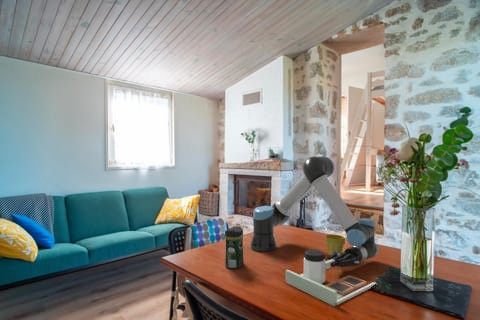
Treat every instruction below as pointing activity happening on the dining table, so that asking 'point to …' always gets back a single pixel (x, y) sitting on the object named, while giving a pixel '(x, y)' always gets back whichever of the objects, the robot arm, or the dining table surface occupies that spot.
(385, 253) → the dining table surface
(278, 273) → the dining table surface
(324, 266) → the jar
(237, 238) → the coffee jar
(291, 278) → the pale green u-shaped frame
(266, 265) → the dining table surface
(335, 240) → the plant pot
